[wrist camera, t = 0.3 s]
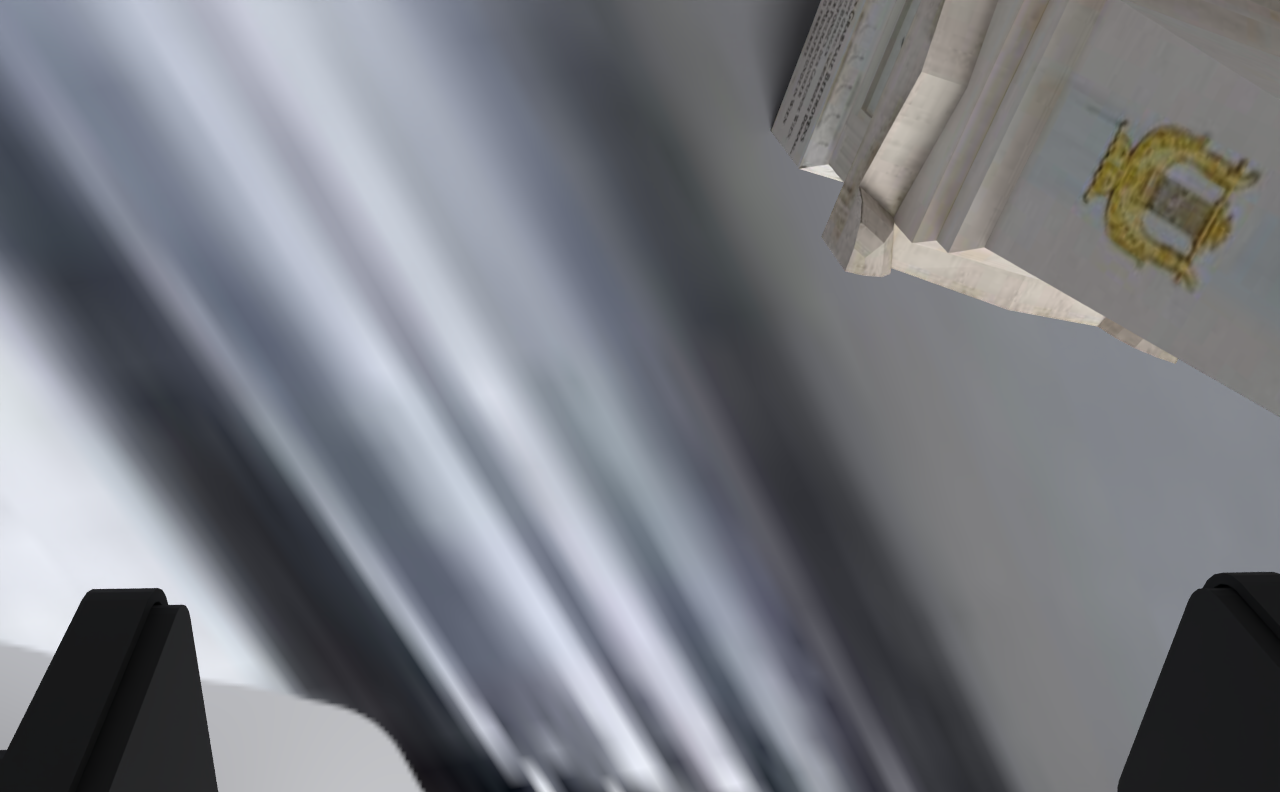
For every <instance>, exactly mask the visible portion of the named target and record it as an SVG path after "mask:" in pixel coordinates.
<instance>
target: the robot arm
mask: <svg viewBox="0 0 1280 792" xmlns="http://www.w3.org/2000/svg"><path fill="white" fill-rule="evenodd" d="M0 792H218V788H217V782H216V776H215V769H214V763H213V757H212V750H211V745H210V738H209V732H208V725H207V720H206V713H205V707H204V700H203V694H202V688H201V682H200V675H199V669H198V663H197V657H196V650H195V644H194V638H193V632H192V625H191V619H190V615H189V611H188V609H187V607H186V606H185V605H168V602H167V598H166V596H165V594H164V592H163V590H161V589H159V588H142V589H92V590H90V591H89V592H87V593H86V595H85V596H84V598H83V599H82V601H81V603H80V605H79V607H78V609H77V611H76V613H75V615H74V617H73V619H72V621H71V623H70V625H69V627H68V629H67V631H66V633H65V635H64V637H63V639H62V641H61V643H60V645H59V647H58V649H57V651H56V653H55V655H54V657H53V659H52V661H51V663H50V665H49V667H48V669H47V671H46V673H45V675H44V677H43V679H42V681H41V683H40V685H39V687H38V689H37V691H36V693H35V695H34V697H33V699H32V701H31V703H30V705H29V707H28V709H27V711H26V713H25V715H24V717H23V719H22V721H21V723H20V725H19V727H18V729H17V731H16V733H15V735H14V737H13V739H12V741H11V743H10V745H9V747H8V749H7V750H0ZM1118 792H1280V574H1278V573H1275V572H1242V573H1219V574H1214V575H1213V576H1212V577H1211V578H1209V579H1208V580H1207V582H1206V583H1205V585H1204V587H1203V588H1202V589H1197V590H1196V591H1195V592H1194V593H1192V595H1191V597H1190V599H1189V601H1188V603H1187V606H1186V608H1185V611H1184V614H1183V616H1182V619H1181V621H1180V624H1179V626H1178V629H1177V632H1176V634H1175V637H1174V639H1173V642H1172V645H1171V647H1170V650H1169V652H1168V655H1167V658H1166V660H1165V663H1164V665H1163V668H1162V671H1161V673H1160V676H1159V678H1158V681H1157V684H1156V686H1155V689H1154V691H1153V694H1152V697H1151V699H1150V702H1149V704H1148V707H1147V709H1146V712H1145V715H1144V717H1143V720H1142V722H1141V725H1140V728H1139V730H1138V733H1137V735H1136V738H1135V741H1134V743H1133V746H1132V748H1131V751H1130V754H1129V756H1128V759H1127V761H1126V764H1125V767H1124V769H1123V772H1122V774H1121V777H1120V779H1119V784H1118Z"/></svg>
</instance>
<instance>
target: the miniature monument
mask: <svg viewBox="0 0 1280 792" xmlns="http://www.w3.org/2000/svg"><path fill="white" fill-rule="evenodd" d="M771 132H772V133H773V135H774V136H775V137H776V139H777V140H778V141H779V143H780V144H781V145H782V147H783V148H784V149H785V151H786V152H787V153H788V155H789V156H790V157H791V159H792V160H793V161H794V163H795V164H796V165H797V167H798V168H799V169H802V170H805V171H809V172H812V173H815V174H819V175H822V176H825V177H829V178H832V179H835V180H839V181H842V182H844V185H843V187H842V189H841V192H840V194H839V196H838V199H837V201H836V204H835V206H834V208H833V211H832V213H831V215H830V218H829V220H828V222H827V225H826V227H825V230H824V232H823V234H822V238H823V240H824V241H825V243H826V244H827V246H828V247H829V249H830V250H831V251H832V253H833V254H834V256H835V257H836V259H837V260H838V262H839V263H840V264H841V266H842V267H843V269H844V270H845V271H846V272H851V273H855V274H859V275H865V276H876V277H883V276H886V275H889V274H890V272H891V268H893V269H896V270H899V271H901V272H904V273H907V274H910V275H912V276H915V277H918V278H921V279H924V280H926V281H929V282H932V283H935V284H938V285H940V286H943V287H946V288H949V289H952V290H954V291H957V292H960V293H963V294H966V295H968V296H971V297H974V298H977V299H979V300H982V301H985V302H988V303H991V304H993V305H996V306H999V307H1002V308H1005V309H1007V310H1012V311H1017V312H1023V313H1028V314H1033V315H1039V316H1044V317H1050V318H1055V319H1060V320H1066V321H1071V322H1077V323H1082V324H1087V325H1093V326H1098V327H1099V328H1101V329H1102V330H1104V331H1105V332H1107V333H1109V334H1110V335H1112V336H1113V337H1115V338H1117V339H1119V340H1120V341H1122V342H1124V343H1126V344H1128V345H1130V346H1132V347H1134V348H1136V349H1138V350H1141V351H1143V352H1145V353H1148V354H1150V355H1153V356H1155V357H1157V358H1160V359H1163V360H1166V361H1169V362H1172V363H1175V364H1176V362H1177V360H1178V359H1179V360H1181V361H1183V362H1185V363H1186V364H1188V365H1190V366H1192V367H1193V368H1195V369H1197V370H1199V371H1200V372H1202V373H1204V374H1206V375H1207V376H1209V377H1211V378H1213V379H1214V380H1216V381H1218V382H1220V383H1221V384H1223V385H1225V386H1226V387H1228V388H1230V389H1232V390H1233V391H1235V392H1237V393H1239V394H1240V395H1242V396H1244V397H1246V398H1247V399H1249V400H1251V401H1253V402H1254V403H1256V404H1258V405H1260V406H1261V407H1263V408H1265V409H1266V410H1268V411H1270V412H1272V413H1273V414H1275V415H1277V416H1279V417H1280V0H821V2H820V5H819V7H818V10H817V12H816V15H815V18H814V20H813V23H812V25H811V28H810V31H809V33H808V36H807V38H806V41H805V44H804V46H803V49H802V51H801V54H800V57H799V59H798V62H797V65H796V67H795V70H794V72H793V75H792V78H791V80H790V83H789V85H788V88H787V91H786V93H785V96H784V98H783V101H782V104H781V106H780V109H779V111H778V114H777V117H776V119H775V122H774V125H773V127H772V130H771Z"/></svg>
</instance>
